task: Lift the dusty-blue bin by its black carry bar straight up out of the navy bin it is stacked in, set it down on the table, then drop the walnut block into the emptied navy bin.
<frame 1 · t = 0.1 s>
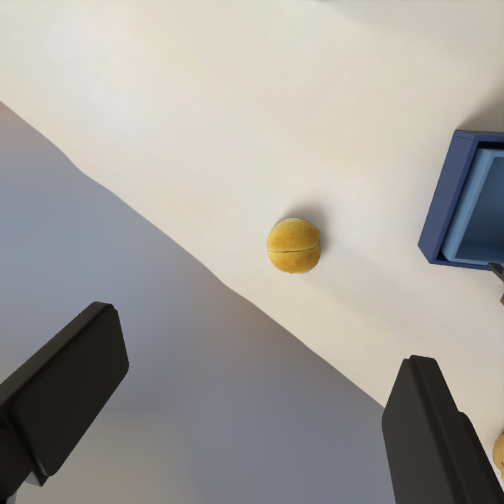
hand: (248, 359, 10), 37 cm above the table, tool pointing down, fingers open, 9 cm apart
lower bin: (485, 197, 39), on the table
bread roll: (294, 243, 48), on the table
upper bin: (487, 198, 39), point 1 cm above the table, touching lower bin
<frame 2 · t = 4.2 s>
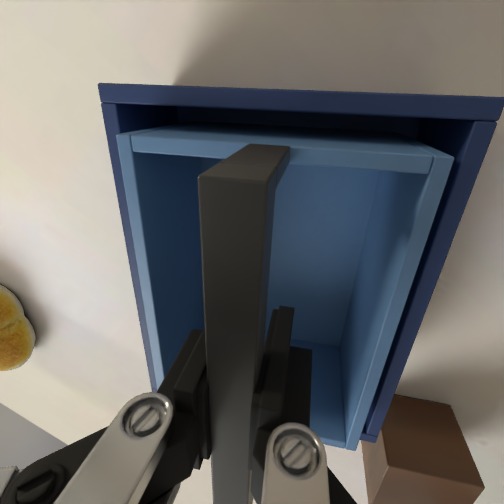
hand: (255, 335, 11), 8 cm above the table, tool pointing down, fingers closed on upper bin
lower bin: (280, 244, 18), on the table
bread roll: (0, 313, 26), on the table
upper bin: (279, 249, 17), point 1 cm above the table, touching gripper, lower bin
block: (402, 420, 22), on the table
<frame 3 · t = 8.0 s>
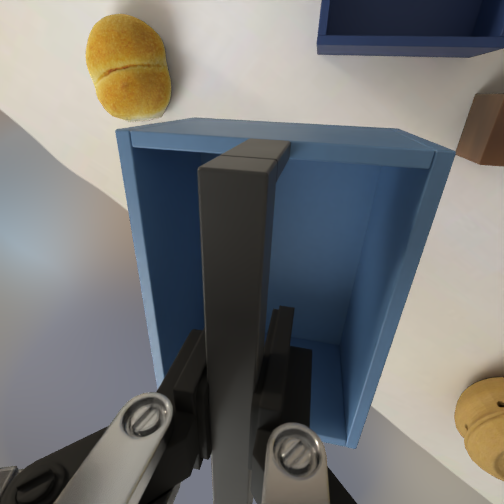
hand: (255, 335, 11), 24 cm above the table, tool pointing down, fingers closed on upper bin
bread roll: (138, 75, 31), on the table
upper bin: (279, 246, 17), point 17 cm above the table, touching gripper
pot: (494, 393, 40), on the table
block: (495, 127, 26), on the table
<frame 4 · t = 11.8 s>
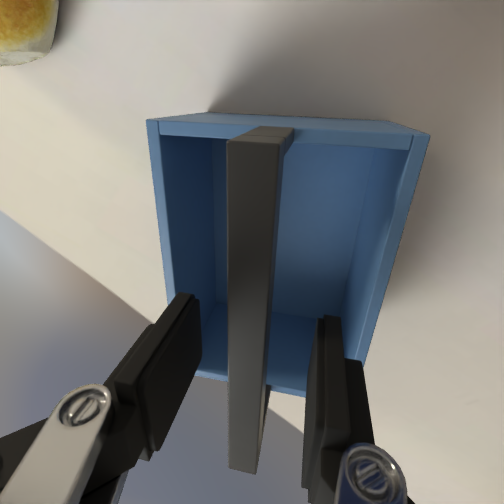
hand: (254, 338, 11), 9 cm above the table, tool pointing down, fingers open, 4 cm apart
upper bin: (282, 230, 19), on the table
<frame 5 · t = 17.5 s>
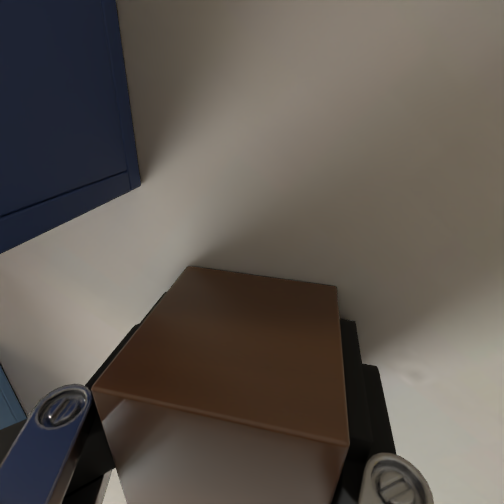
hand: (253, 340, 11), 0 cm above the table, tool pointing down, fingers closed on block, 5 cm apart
block: (256, 332, 11), on the table, touching gripper
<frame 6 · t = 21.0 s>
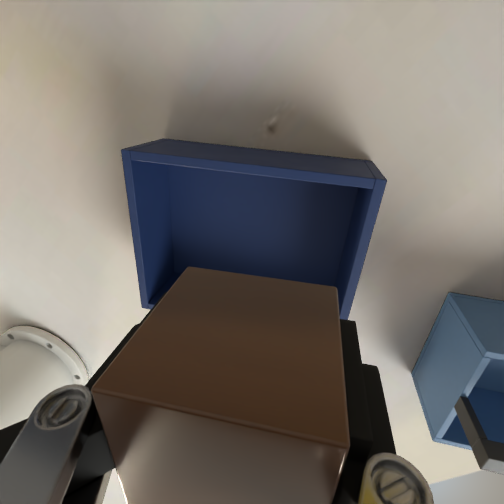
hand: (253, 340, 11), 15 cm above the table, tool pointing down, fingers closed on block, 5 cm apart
lower bin: (255, 226, 25), on the table
block: (256, 333, 11), point 15 cm above the table, touching gripper
when the fingers open (1 cm above the table, at t = 25.0 s): block stays where it is, resting on lower bin.
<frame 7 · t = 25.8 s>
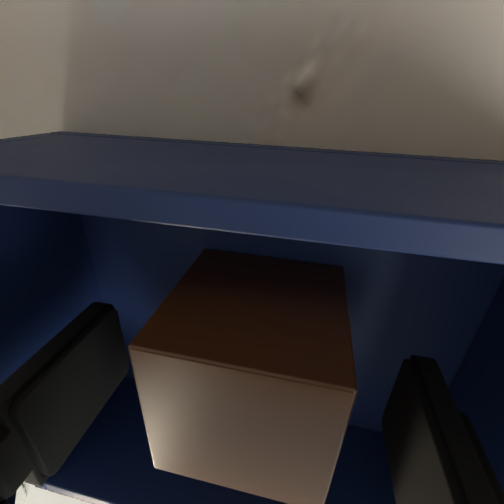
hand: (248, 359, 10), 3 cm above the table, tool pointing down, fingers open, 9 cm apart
lower bin: (267, 304, 12), on the table
block: (267, 312, 12), point 1 cm above the table, touching lower bin
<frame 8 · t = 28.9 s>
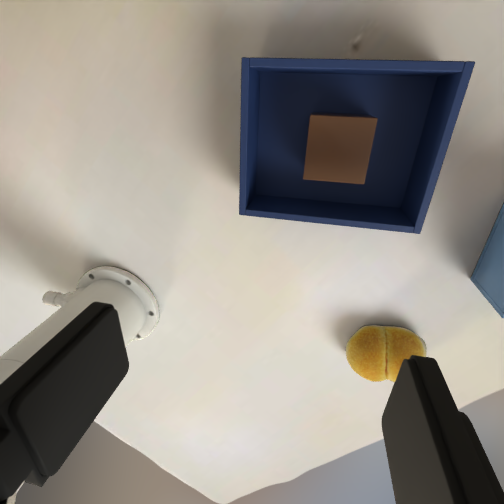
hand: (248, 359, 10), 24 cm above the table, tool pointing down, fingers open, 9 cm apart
lower bin: (334, 142, 29), on the table
bread roll: (383, 345, 38), on the table
block: (335, 142, 28), point 1 cm above the table, touching lower bin
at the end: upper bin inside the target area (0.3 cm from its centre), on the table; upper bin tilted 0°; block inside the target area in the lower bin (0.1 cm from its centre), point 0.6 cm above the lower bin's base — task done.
